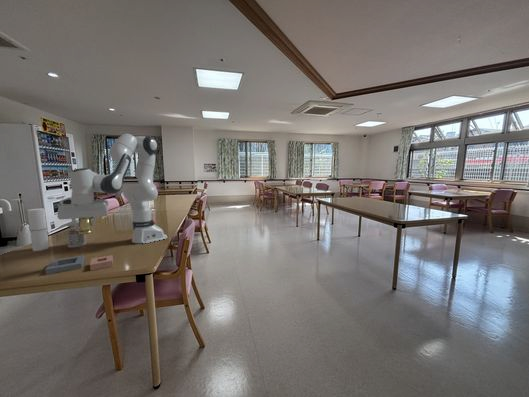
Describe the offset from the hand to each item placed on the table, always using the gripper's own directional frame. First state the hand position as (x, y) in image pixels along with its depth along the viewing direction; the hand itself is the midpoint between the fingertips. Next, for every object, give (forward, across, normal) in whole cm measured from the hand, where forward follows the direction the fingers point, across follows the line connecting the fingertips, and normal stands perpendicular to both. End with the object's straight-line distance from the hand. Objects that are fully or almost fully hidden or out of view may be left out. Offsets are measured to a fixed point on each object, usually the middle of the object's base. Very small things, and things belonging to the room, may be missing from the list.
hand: (85, 226), depth 114 cm
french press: (+20, +9, -39) cm, 45 cm away
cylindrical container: (+20, +26, -43) cm, 54 cm away
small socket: (+20, -6, +8) cm, 22 cm away
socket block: (+20, +8, 0) cm, 22 cm away
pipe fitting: (+4, 0, 0) cm, 4 cm away
